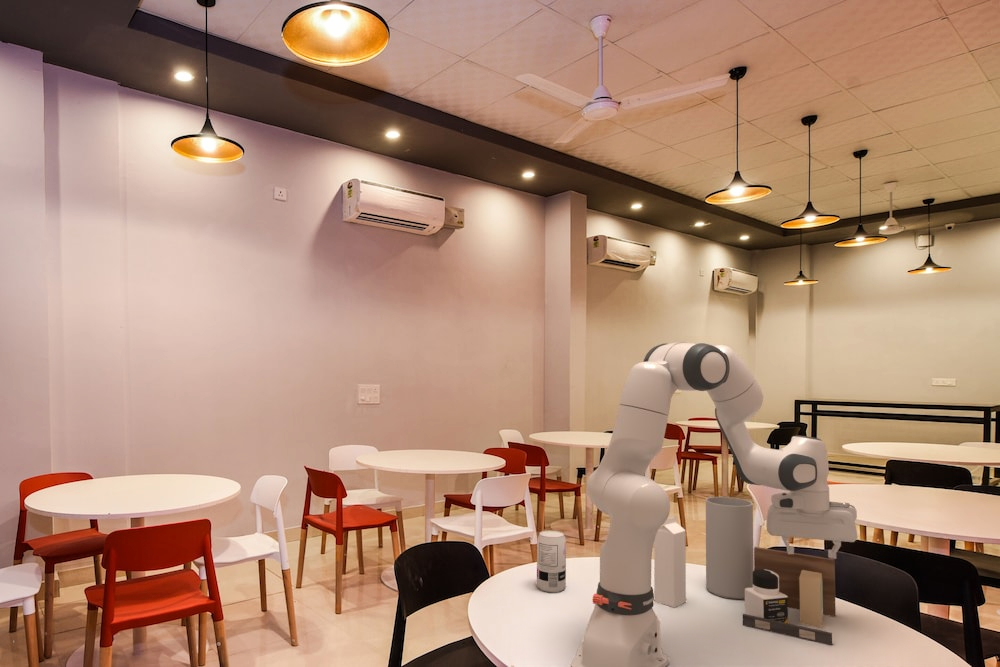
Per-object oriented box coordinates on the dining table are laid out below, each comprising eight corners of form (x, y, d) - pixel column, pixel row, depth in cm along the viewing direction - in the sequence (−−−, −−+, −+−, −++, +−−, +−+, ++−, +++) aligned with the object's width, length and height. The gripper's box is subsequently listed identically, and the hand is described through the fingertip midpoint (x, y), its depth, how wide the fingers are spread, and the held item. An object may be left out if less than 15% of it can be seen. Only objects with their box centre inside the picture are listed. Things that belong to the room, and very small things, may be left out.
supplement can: (531, 585, 168) (532, 531, 169) (556, 581, 171) (557, 528, 173) (545, 594, 161) (546, 538, 162) (571, 590, 164) (571, 535, 165)
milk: (685, 602, 157) (686, 518, 159) (673, 608, 153) (674, 521, 155) (665, 595, 162) (666, 514, 163) (653, 601, 158) (654, 517, 159)
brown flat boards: (832, 645, 133) (830, 582, 134) (742, 625, 143) (741, 566, 144) (835, 615, 150) (834, 559, 151) (755, 599, 160) (754, 546, 161)
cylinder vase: (757, 602, 158) (756, 507, 160) (708, 597, 161) (707, 504, 163) (750, 586, 170) (749, 498, 172) (704, 581, 173) (704, 495, 175)
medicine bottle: (764, 628, 142) (763, 577, 142) (744, 616, 148) (743, 568, 149) (788, 625, 143) (788, 575, 144) (768, 614, 150) (767, 566, 151)
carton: (823, 617, 149) (822, 573, 149) (821, 627, 143) (820, 581, 143) (802, 613, 151) (801, 569, 152) (800, 623, 145) (799, 577, 146)
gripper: (852, 500, 149) (854, 556, 148) (764, 495, 155) (766, 548, 154) (859, 506, 143) (861, 564, 142) (768, 500, 149) (769, 555, 148)
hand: (811, 556), depth 148 cm, fingers open, 8 cm apart
